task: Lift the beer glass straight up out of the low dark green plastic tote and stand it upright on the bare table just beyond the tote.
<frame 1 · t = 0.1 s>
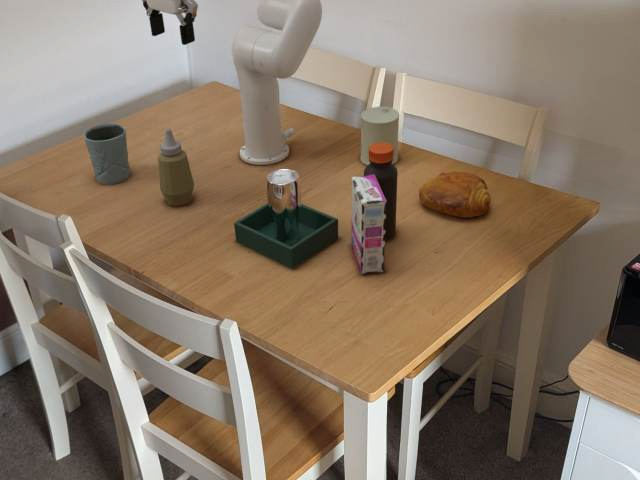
hand: (173, 38, 169), 37 cm above the table, tool pointing down, fingers open, 9 cm apart
grey green cup: (113, 176, 201), on the table
candy bar box: (367, 259, 164), on the table
croissant: (456, 204, 178), on the table
can: (379, 159, 197), on the table
tote: (286, 240, 172), on the table
beer glass: (286, 239, 172), resting on tote
squeeze bottle: (179, 201, 189), on the table
vinegar: (379, 234, 171), on the table
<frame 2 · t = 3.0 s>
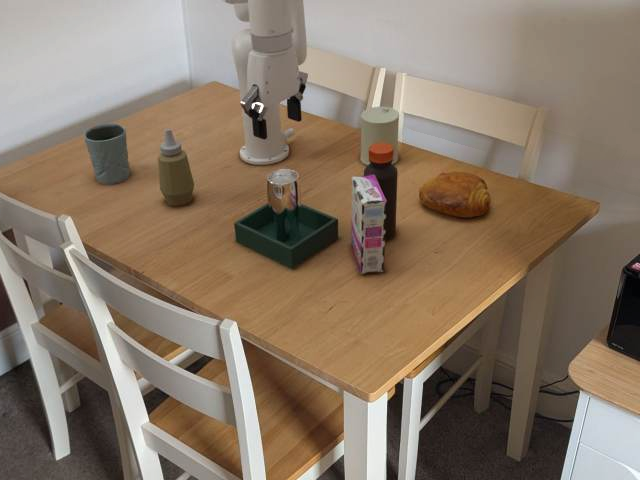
hand: (277, 128, 156), 26 cm above the table, tool pointing down, fingers open, 9 cm apart
nothing on the table moved.
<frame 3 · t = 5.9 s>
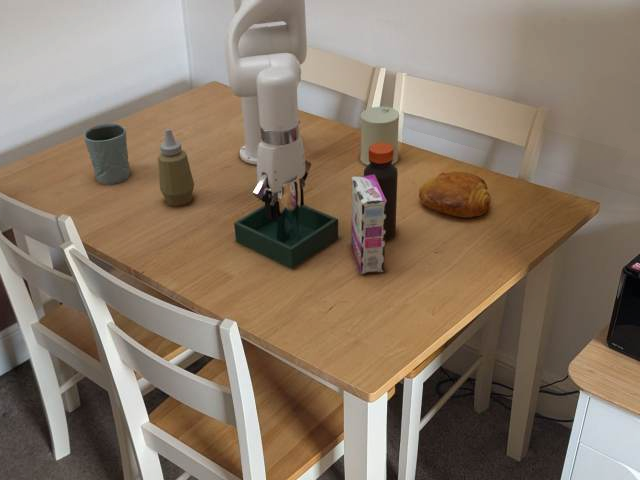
hand: (285, 210, 167), 7 cm above the table, tool pointing down, fingers closed on beer glass, 7 cm apart
beer glass: (286, 239, 172), resting on tote, touching gripper
everything else where it was.
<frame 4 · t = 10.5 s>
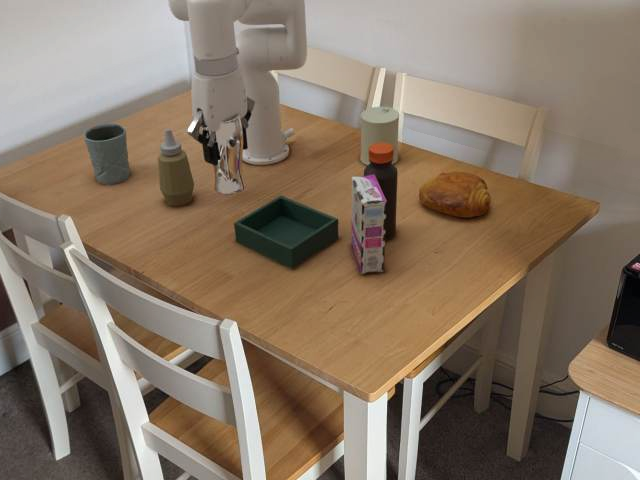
hand: (226, 154, 150), 25 cm above the table, tool pointing down, fingers closed on beer glass, 7 cm apart
beer glass: (230, 188, 155), point 18 cm above the table, touching gripper
everything else where it was.
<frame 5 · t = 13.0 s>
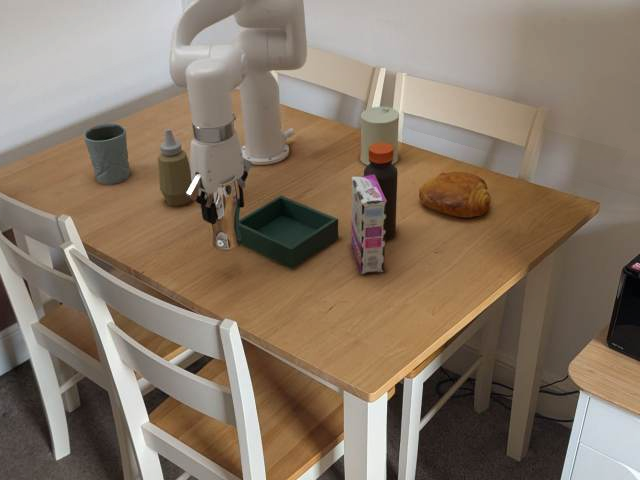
hand: (223, 212, 157), 13 cm above the table, tool pointing down, fingers closed on beer glass, 7 cm apart
beer glass: (227, 243, 161), point 6 cm above the table, touching gripper
everything else where it was.
when the fingers open (7 cm above the table, at t = 15.1 s): beer glass stays where it is, on the table.
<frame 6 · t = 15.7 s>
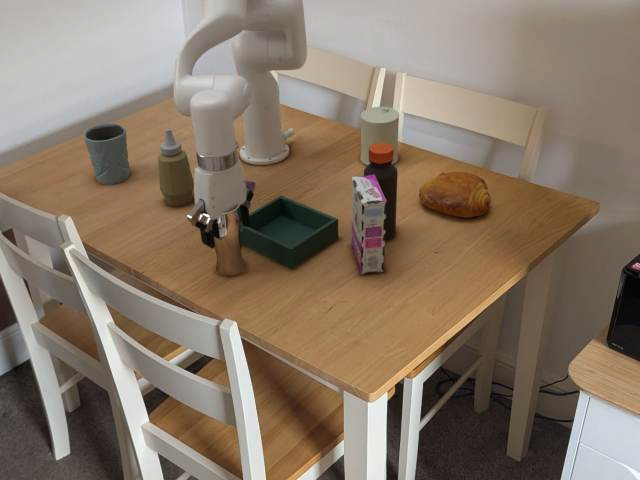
hand: (226, 234, 160), 8 cm above the table, tool pointing down, fingers open, 9 cm apart
beer glass: (230, 268, 165), on the table
everything else where it was.
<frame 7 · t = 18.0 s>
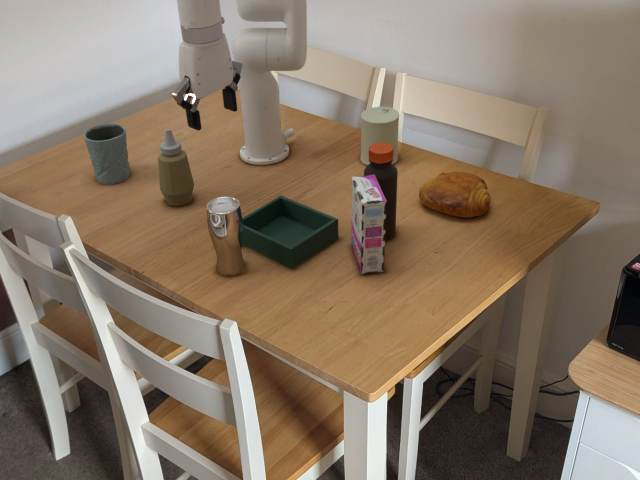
hand: (213, 118, 156), 28 cm above the table, tool pointing down, fingers open, 9 cm apart
nothing on the table moved.
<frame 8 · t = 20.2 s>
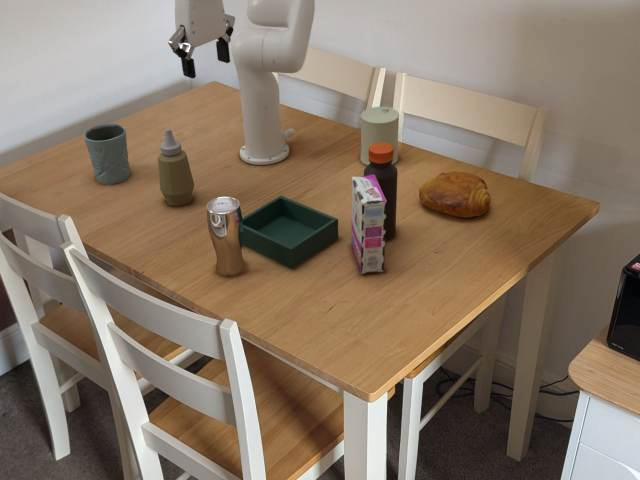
hand: (207, 69, 166), 32 cm above the table, tool pointing down, fingers open, 9 cm apart
nothing on the table moved.
at the end: beer glass inside the target area (0.4 cm from its centre), on the table; beer glass tilted 0°; the gripper is holding nothing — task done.
